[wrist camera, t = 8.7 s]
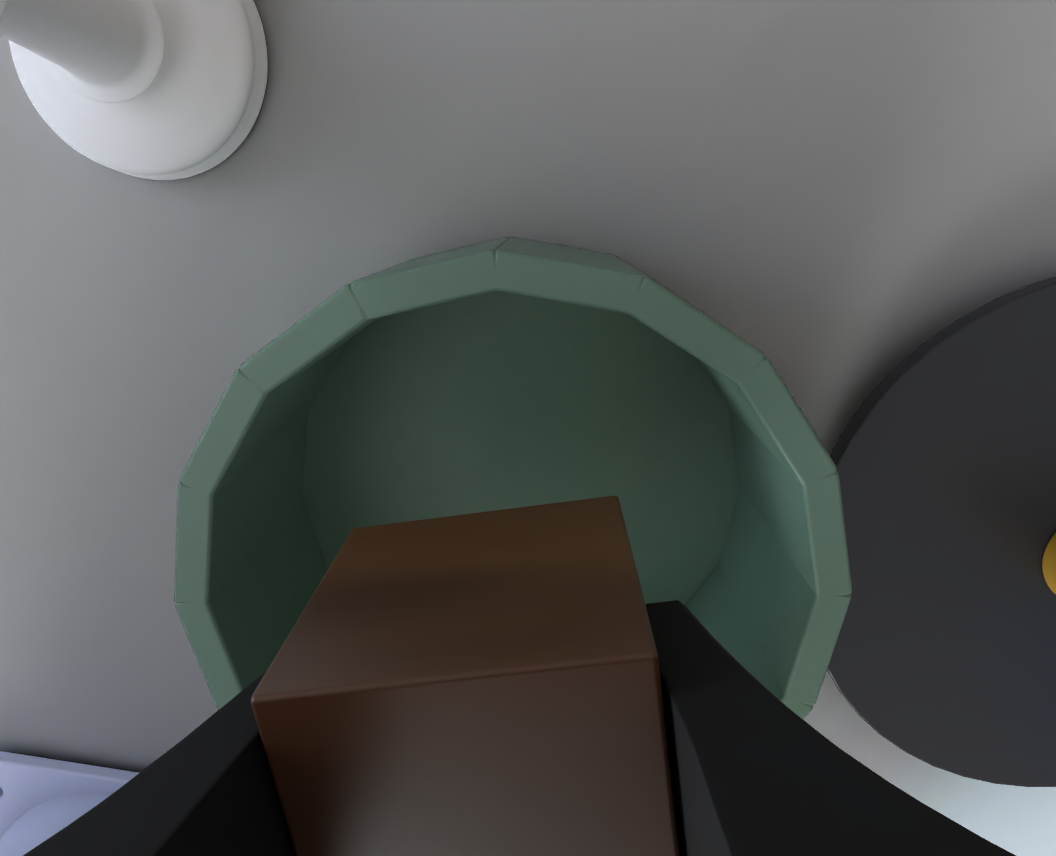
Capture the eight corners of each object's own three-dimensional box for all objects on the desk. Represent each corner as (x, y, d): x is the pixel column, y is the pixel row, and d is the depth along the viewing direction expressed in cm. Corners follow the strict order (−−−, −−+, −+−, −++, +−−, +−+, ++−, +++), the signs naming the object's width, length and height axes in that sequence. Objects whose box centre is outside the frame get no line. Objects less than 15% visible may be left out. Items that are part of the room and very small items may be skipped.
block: (645, 721, 12) (693, 970, 8) (403, 747, 12) (336, 999, 8) (618, 493, 11) (658, 653, 7) (351, 526, 11) (246, 698, 7)
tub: (694, 715, 19) (750, 903, 14) (269, 646, 19) (165, 812, 14) (815, 289, 16) (944, 328, 11) (304, 198, 16) (185, 193, 10)
